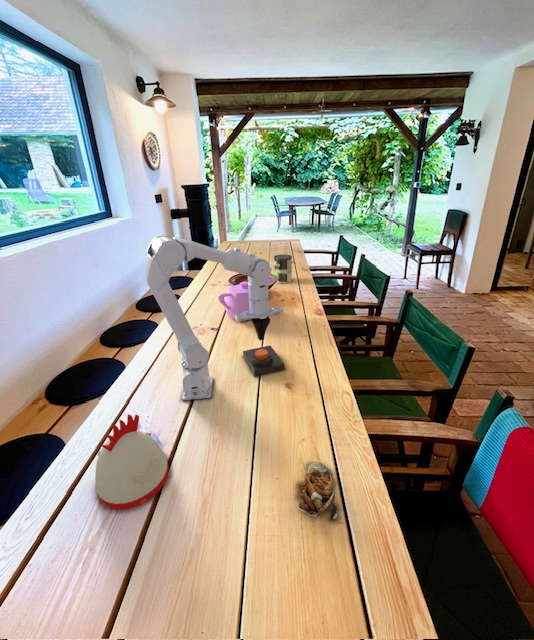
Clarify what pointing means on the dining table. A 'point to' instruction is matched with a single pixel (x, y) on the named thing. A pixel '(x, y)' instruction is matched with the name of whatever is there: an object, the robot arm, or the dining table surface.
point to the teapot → (236, 299)
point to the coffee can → (283, 268)
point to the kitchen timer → (129, 467)
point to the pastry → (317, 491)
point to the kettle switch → (263, 361)
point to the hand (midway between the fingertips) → (260, 338)
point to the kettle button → (261, 354)
